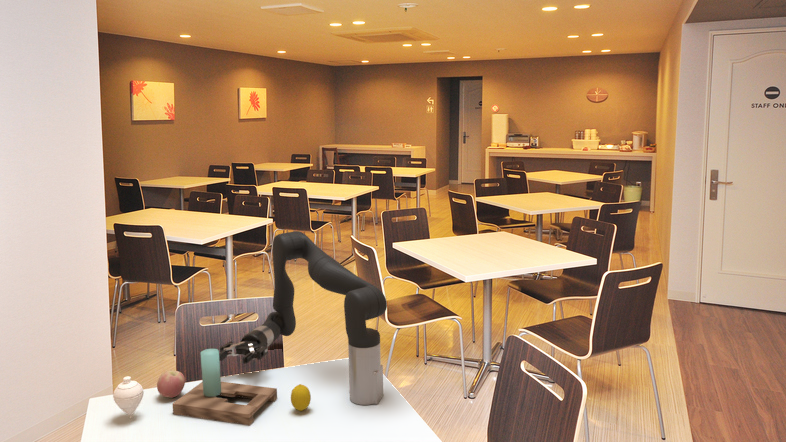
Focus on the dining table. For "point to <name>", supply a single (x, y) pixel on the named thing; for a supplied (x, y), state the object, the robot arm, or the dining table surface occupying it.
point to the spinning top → (128, 395)
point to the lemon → (300, 397)
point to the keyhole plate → (224, 403)
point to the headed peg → (211, 373)
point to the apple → (170, 383)
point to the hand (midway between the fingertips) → (231, 359)
